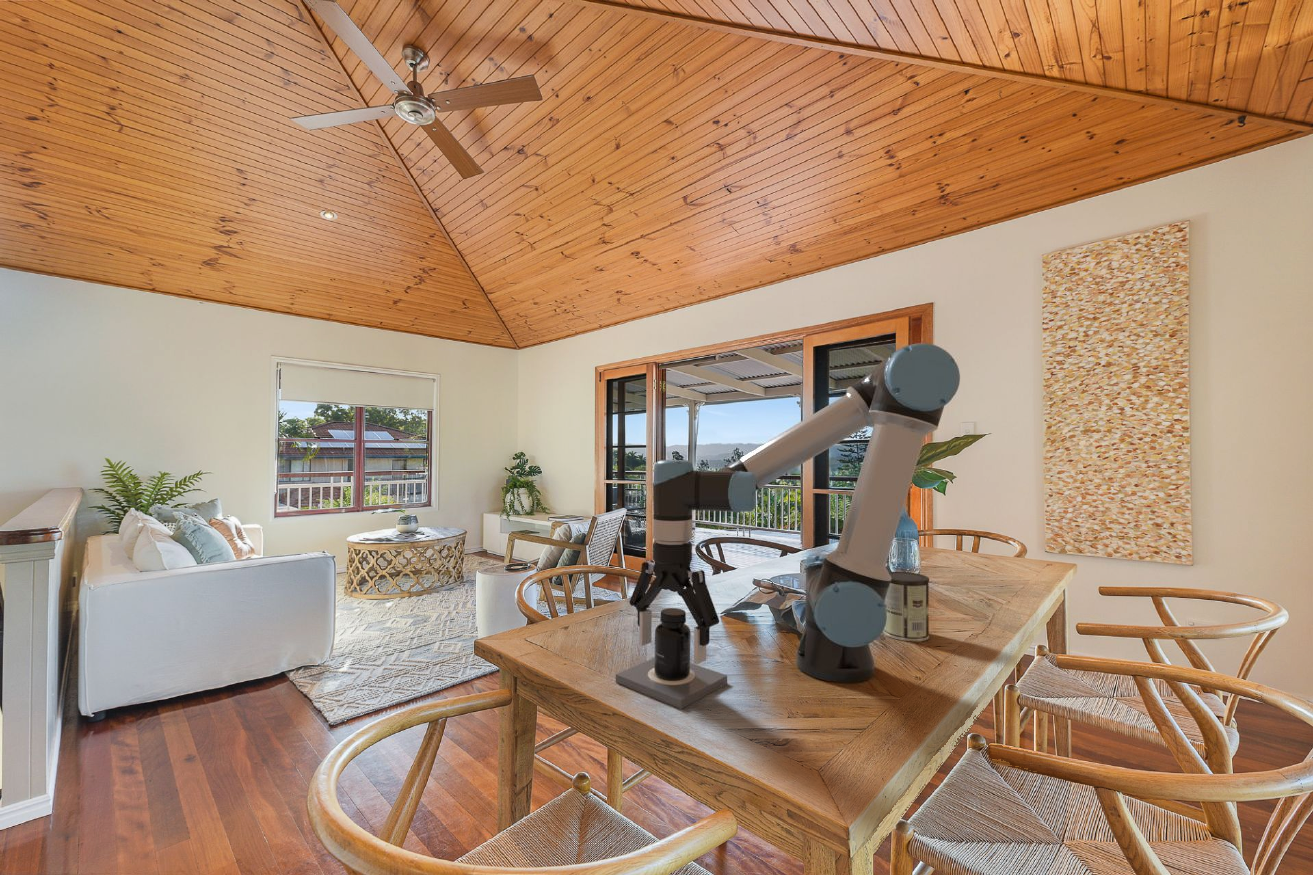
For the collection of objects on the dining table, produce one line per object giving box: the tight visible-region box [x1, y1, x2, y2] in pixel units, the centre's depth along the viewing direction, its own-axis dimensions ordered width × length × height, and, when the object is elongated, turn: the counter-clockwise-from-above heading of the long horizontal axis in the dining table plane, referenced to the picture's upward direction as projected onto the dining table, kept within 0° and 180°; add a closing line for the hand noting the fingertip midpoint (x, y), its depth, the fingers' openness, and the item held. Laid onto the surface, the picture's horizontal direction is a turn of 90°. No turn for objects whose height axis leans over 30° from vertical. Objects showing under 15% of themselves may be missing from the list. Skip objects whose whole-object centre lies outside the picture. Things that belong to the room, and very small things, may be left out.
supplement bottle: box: [654, 607, 692, 681], centre depth 107 cm, size 7×7×12 cm
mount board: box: [615, 657, 728, 710], centre depth 107 cm, size 16×14×2 cm
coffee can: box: [882, 571, 930, 643], centre depth 135 cm, size 10×10×14 cm
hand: (671, 652), depth 107 cm, fingers open, 13 cm apart
